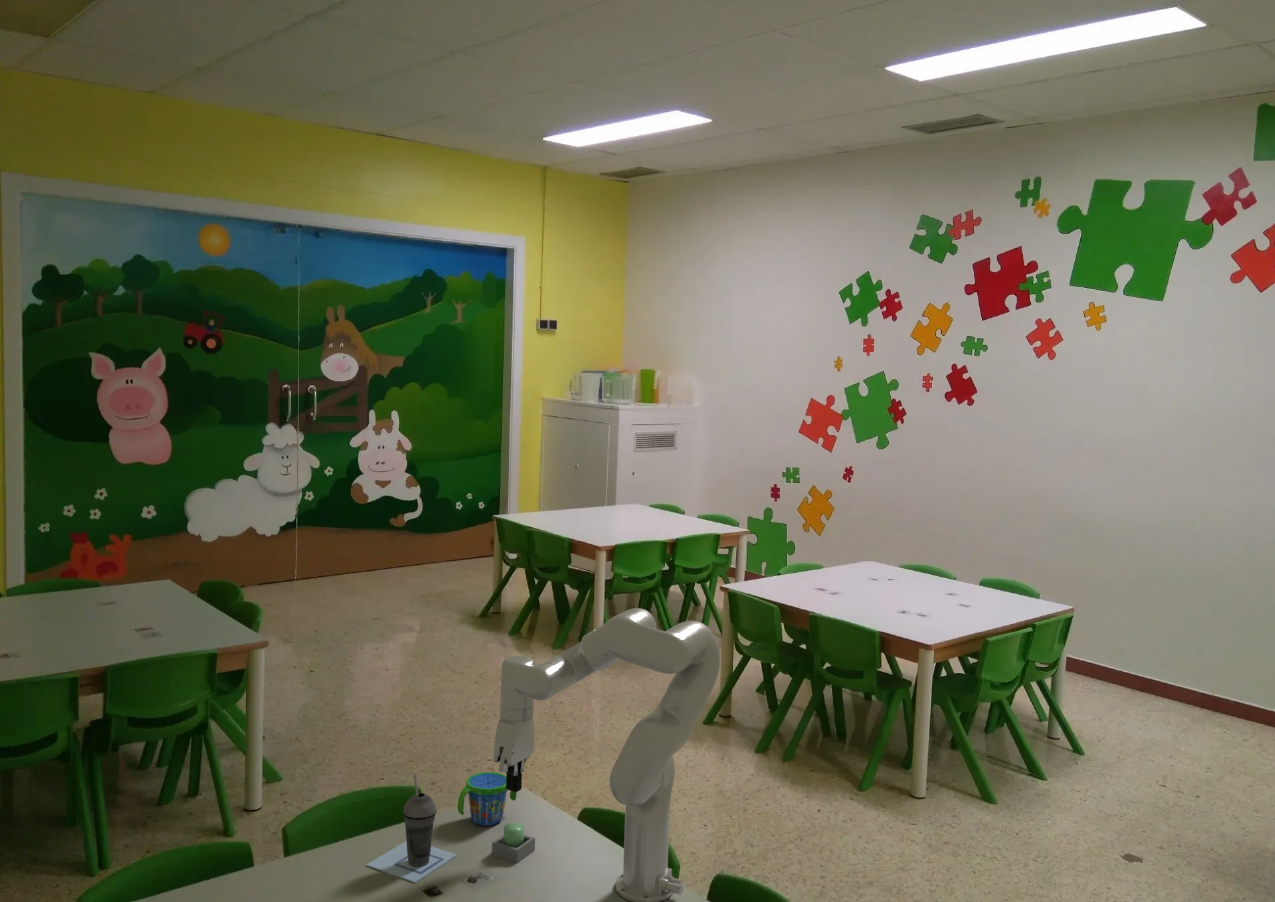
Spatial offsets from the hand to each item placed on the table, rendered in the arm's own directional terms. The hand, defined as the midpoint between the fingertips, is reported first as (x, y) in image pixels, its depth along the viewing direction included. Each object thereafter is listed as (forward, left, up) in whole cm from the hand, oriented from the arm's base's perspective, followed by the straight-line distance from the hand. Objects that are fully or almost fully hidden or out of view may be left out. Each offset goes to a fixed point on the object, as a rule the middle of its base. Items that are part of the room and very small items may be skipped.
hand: (513, 789), depth 224 cm
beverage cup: (+15, +15, -15) cm, 26 cm away
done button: (0, 0, -13) cm, 13 cm away
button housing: (0, 0, -15) cm, 15 cm away
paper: (+17, +15, -15) cm, 27 cm away
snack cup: (+15, -10, -15) cm, 23 cm away
